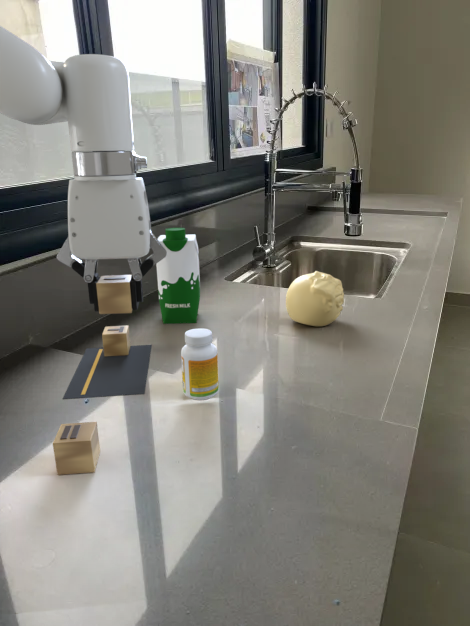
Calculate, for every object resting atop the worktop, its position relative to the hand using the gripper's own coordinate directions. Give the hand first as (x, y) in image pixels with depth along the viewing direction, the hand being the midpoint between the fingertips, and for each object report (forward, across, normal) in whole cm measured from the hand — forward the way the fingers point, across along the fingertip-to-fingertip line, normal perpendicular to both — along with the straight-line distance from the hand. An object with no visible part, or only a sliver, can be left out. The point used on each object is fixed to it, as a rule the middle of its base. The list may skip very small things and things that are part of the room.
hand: (117, 306), depth 67 cm
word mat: (+15, +4, -12) cm, 20 cm away
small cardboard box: (+15, +4, -20) cm, 25 cm away
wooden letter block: (0, 0, 0) cm, 0 cm away
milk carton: (+15, -7, -38) cm, 41 cm away
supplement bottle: (+15, -11, -3) cm, 19 cm away
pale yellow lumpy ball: (+15, -35, -32) cm, 50 cm away
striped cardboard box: (+15, +4, +14) cm, 21 cm away
